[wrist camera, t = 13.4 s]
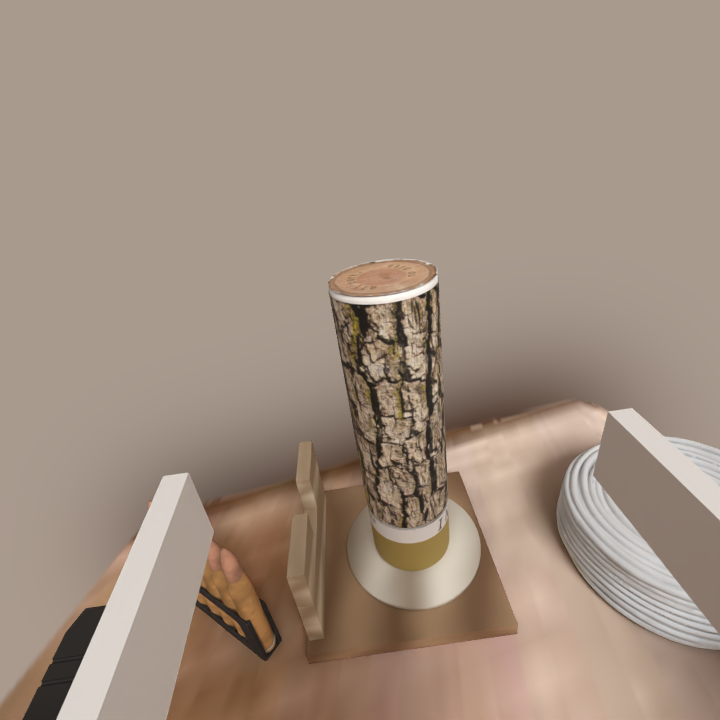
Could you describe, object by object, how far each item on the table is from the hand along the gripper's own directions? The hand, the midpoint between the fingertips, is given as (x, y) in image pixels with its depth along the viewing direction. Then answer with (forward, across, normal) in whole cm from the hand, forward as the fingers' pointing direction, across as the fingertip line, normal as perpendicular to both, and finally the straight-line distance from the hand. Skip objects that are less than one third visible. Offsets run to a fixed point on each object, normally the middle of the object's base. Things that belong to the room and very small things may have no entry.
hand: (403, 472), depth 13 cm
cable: (+11, +24, -25) cm, 36 cm away
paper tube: (+14, +2, -24) cm, 28 cm away
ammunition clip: (+11, -14, -26) cm, 32 cm away
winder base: (+14, +1, -25) cm, 29 cm away
